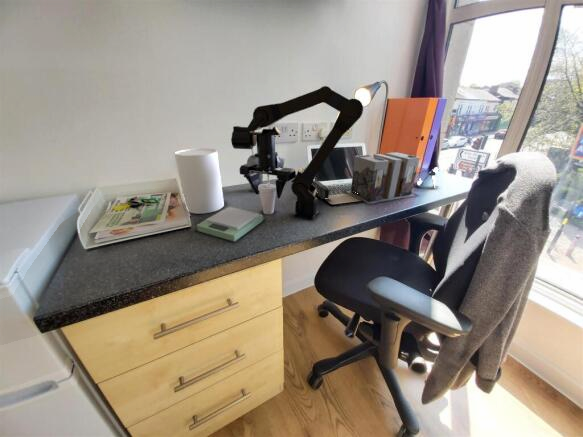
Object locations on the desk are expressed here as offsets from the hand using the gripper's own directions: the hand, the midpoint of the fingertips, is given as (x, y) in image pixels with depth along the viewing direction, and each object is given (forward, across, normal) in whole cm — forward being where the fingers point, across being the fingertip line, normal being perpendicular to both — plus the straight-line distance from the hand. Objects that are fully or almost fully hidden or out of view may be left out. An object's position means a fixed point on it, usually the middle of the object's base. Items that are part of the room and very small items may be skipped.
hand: (268, 196), depth 81 cm
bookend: (+6, -33, -39) cm, 51 cm away
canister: (+6, +24, +6) cm, 25 cm away
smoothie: (+6, 0, 0) cm, 6 cm away
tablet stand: (+6, -51, -59) cm, 78 cm away
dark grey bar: (+6, -11, -24) cm, 27 cm away
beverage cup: (+6, +17, -18) cm, 25 cm away
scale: (+6, +5, +14) cm, 16 cm away
